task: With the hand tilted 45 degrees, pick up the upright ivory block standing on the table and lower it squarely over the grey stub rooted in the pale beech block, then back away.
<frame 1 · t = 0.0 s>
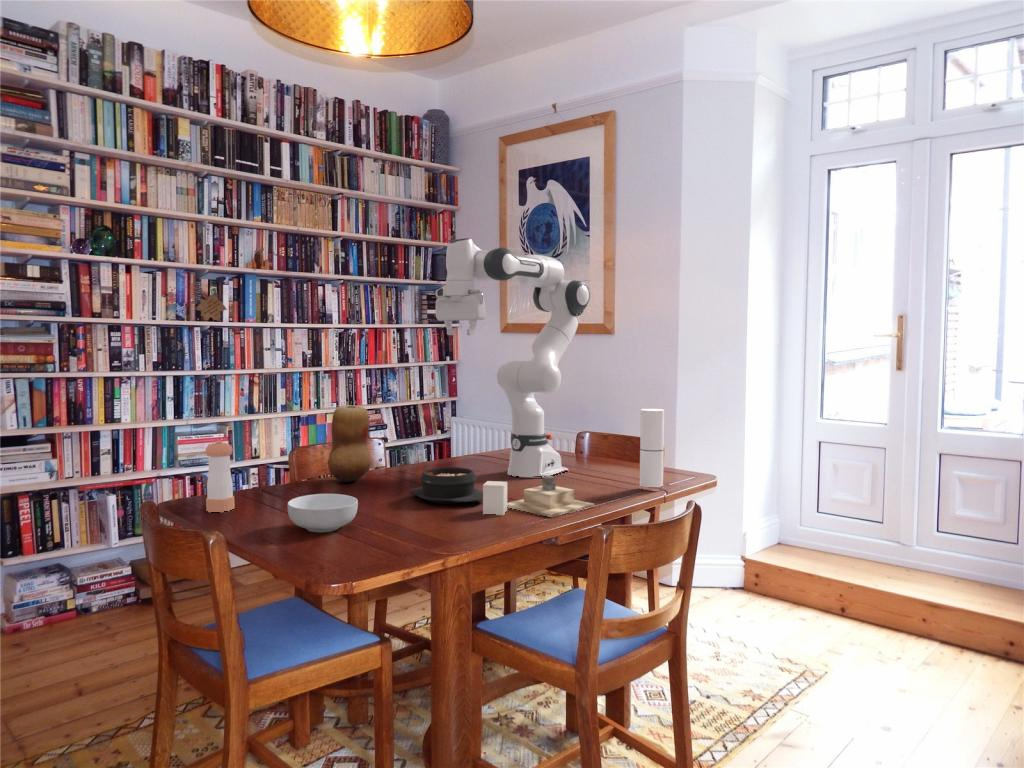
hand: (460, 335, 233), 48 cm above the table, tool pointing down, fingers open, 8 cm apart
salt shaker: (220, 510, 205), on the table
butternut squash: (349, 482, 244), on the table
cylindrical container: (651, 489, 233), on the table
casserole: (448, 500, 218), on the table
cereal bowl: (323, 529, 186), on the table
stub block: (548, 507, 209), on the table
upright ivory block: (495, 512, 202), on the table
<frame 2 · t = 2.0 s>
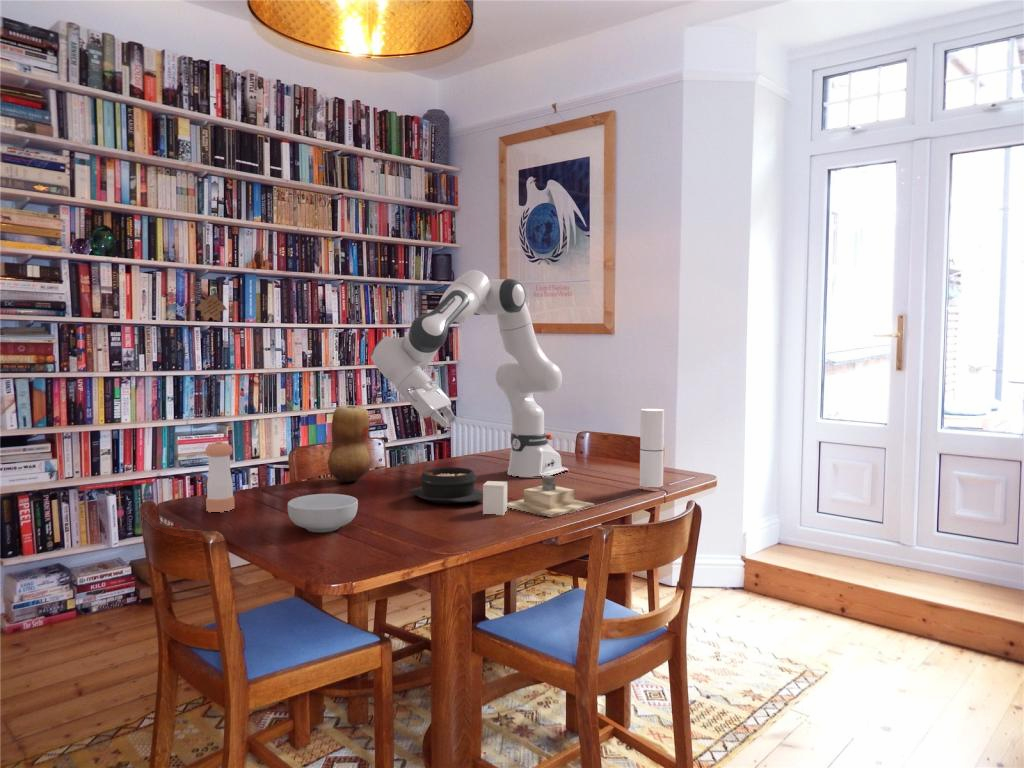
hand: (450, 423, 203), 24 cm above the table, tool tilted 45°, fingers open, 8 cm apart
nothing on the table moved.
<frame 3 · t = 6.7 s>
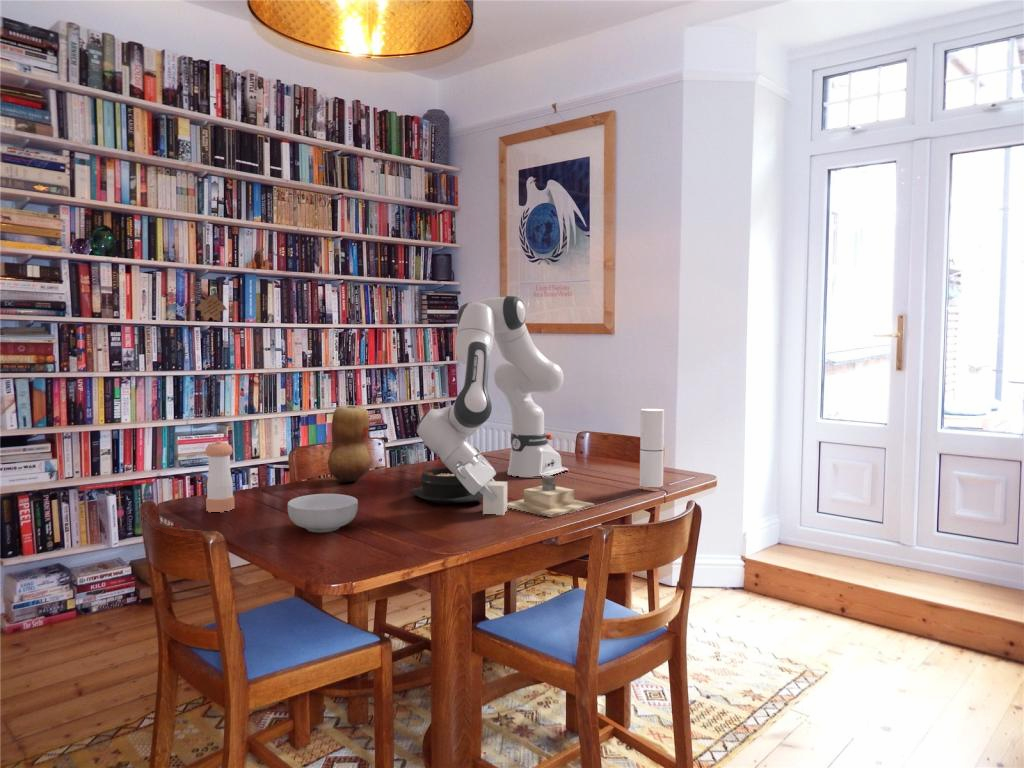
hand: (497, 496, 202), 4 cm above the table, tool tilted 45°, fingers closed on upright ivory block, 6 cm apart
upright ivory block: (495, 512, 202), on the table, touching gripper
everything else where it was.
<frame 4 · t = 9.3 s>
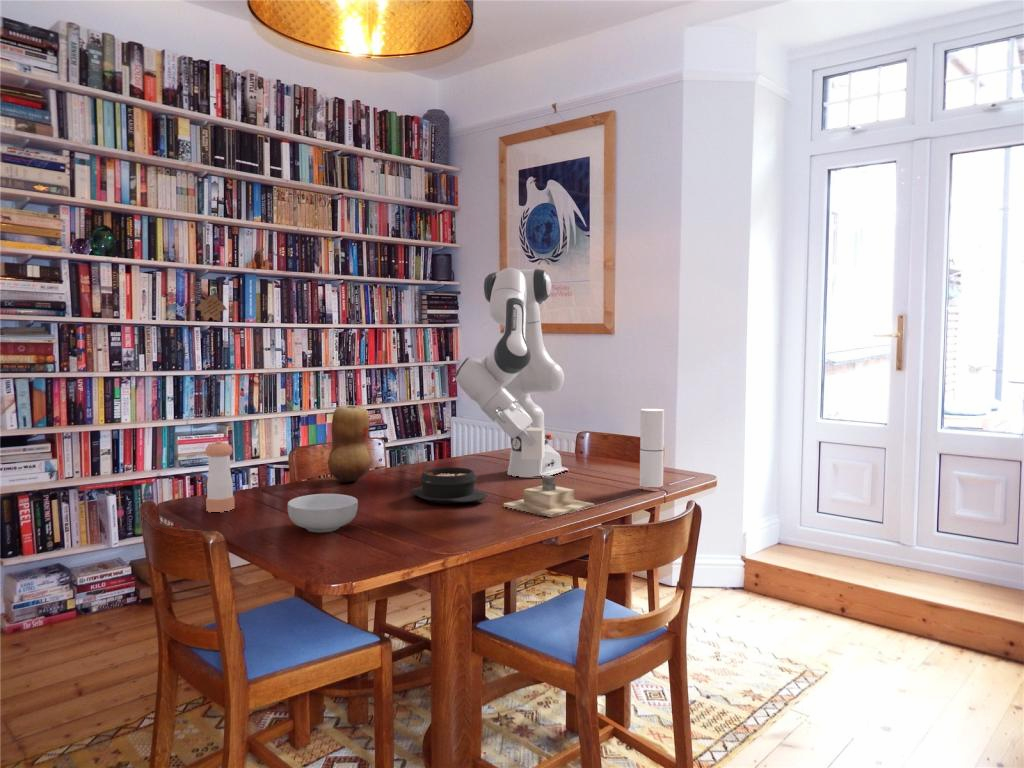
hand: (535, 442, 206), 19 cm above the table, tool tilted 45°, fingers closed on upright ivory block, 6 cm apart
upright ivory block: (533, 457, 206), point 14 cm above the table, touching gripper
everything else where it was.
when the fingers open (10 cm above the table, at t = 12.3 s): upright ivory block stays where it is, resting on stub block.
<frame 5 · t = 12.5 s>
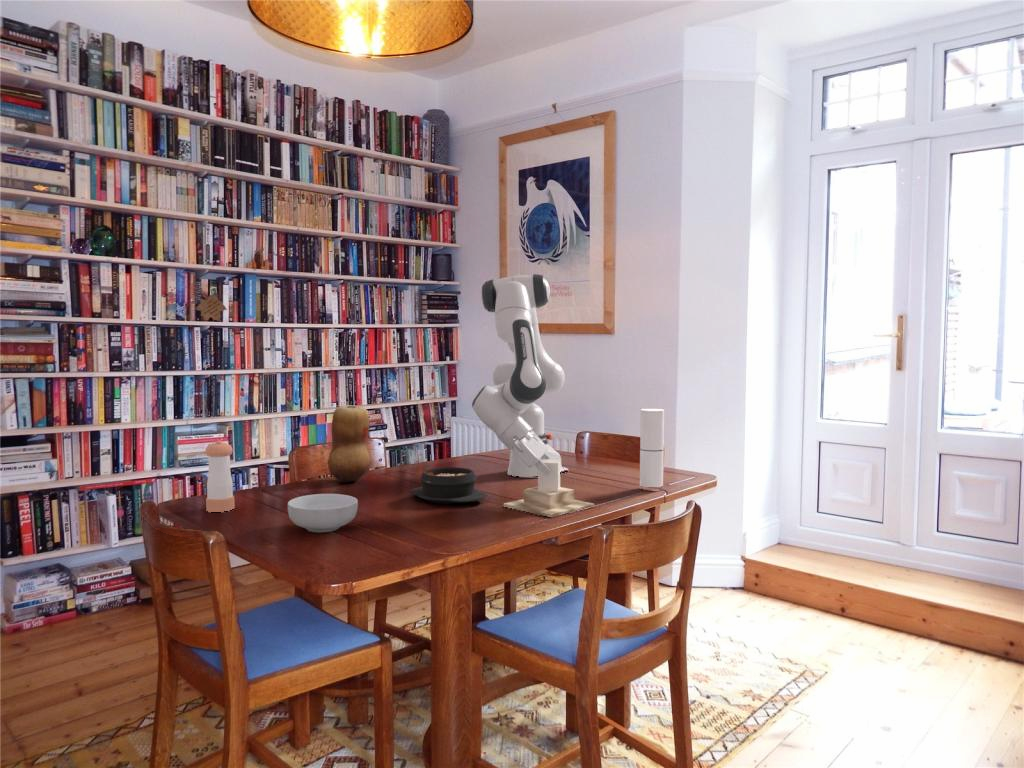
hand: (551, 470, 208), 10 cm above the table, tool tilted 45°, fingers open, 7 cm apart
upright ivory block: (549, 489, 208), point 5 cm above the table, touching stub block
everything else where it was.
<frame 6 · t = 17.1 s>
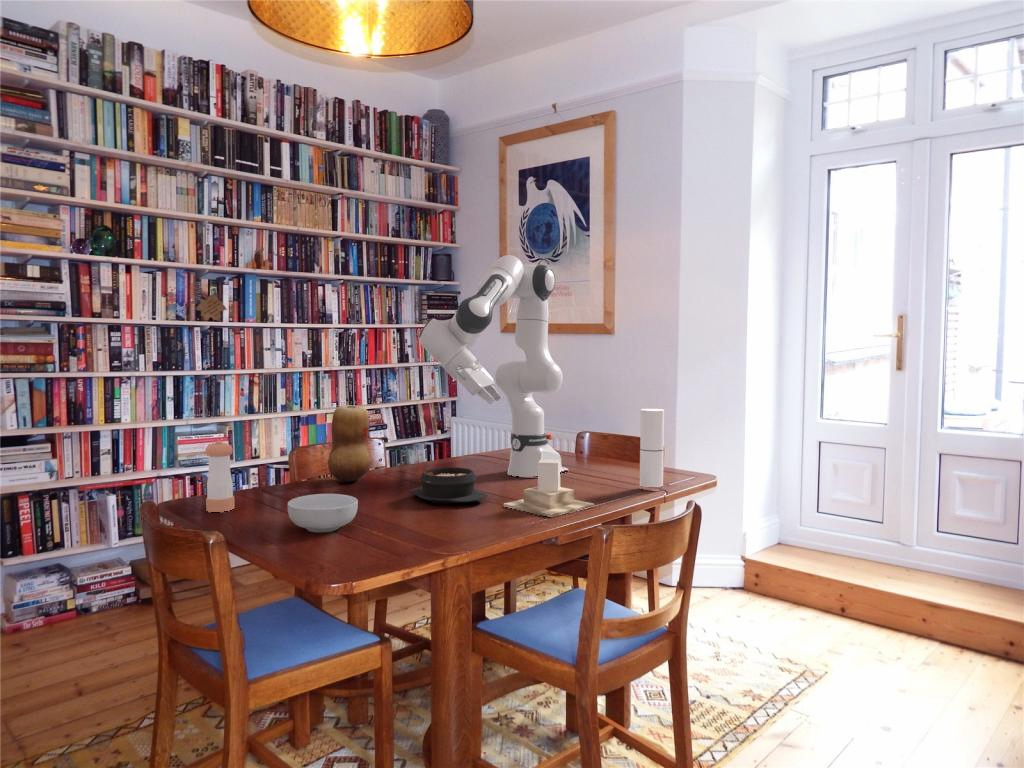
hand: (496, 400, 212), 29 cm above the table, tool tilted 45°, fingers open, 8 cm apart
nothing on the table moved.
at the end: upright ivory block 0.1 cm off-centre on the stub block, point 5.0 cm above the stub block's base; upright ivory block tilted 0°; the gripper is holding nothing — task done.
